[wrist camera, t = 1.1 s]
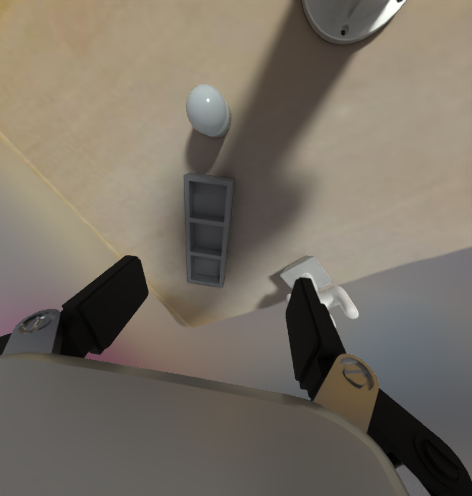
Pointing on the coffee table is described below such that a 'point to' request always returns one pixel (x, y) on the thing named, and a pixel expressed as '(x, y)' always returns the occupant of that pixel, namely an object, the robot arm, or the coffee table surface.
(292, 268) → the figurine
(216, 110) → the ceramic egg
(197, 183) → the grey compartment tray
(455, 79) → the coffee table surface
